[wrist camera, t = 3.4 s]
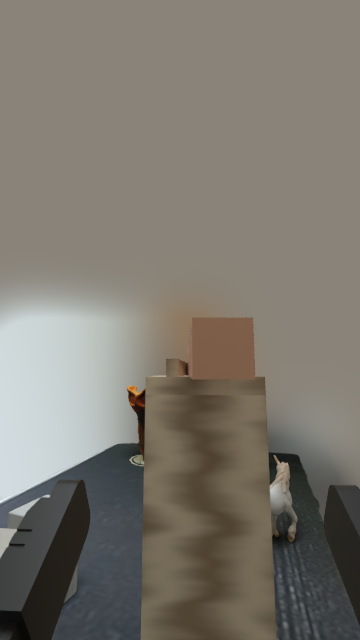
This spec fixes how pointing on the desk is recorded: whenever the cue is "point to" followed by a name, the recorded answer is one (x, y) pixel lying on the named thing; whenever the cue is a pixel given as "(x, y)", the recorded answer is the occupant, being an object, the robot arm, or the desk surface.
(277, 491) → the unicorn figurine
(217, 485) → the bridge
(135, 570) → the desk surface
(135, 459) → the decorative vase
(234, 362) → the bar
